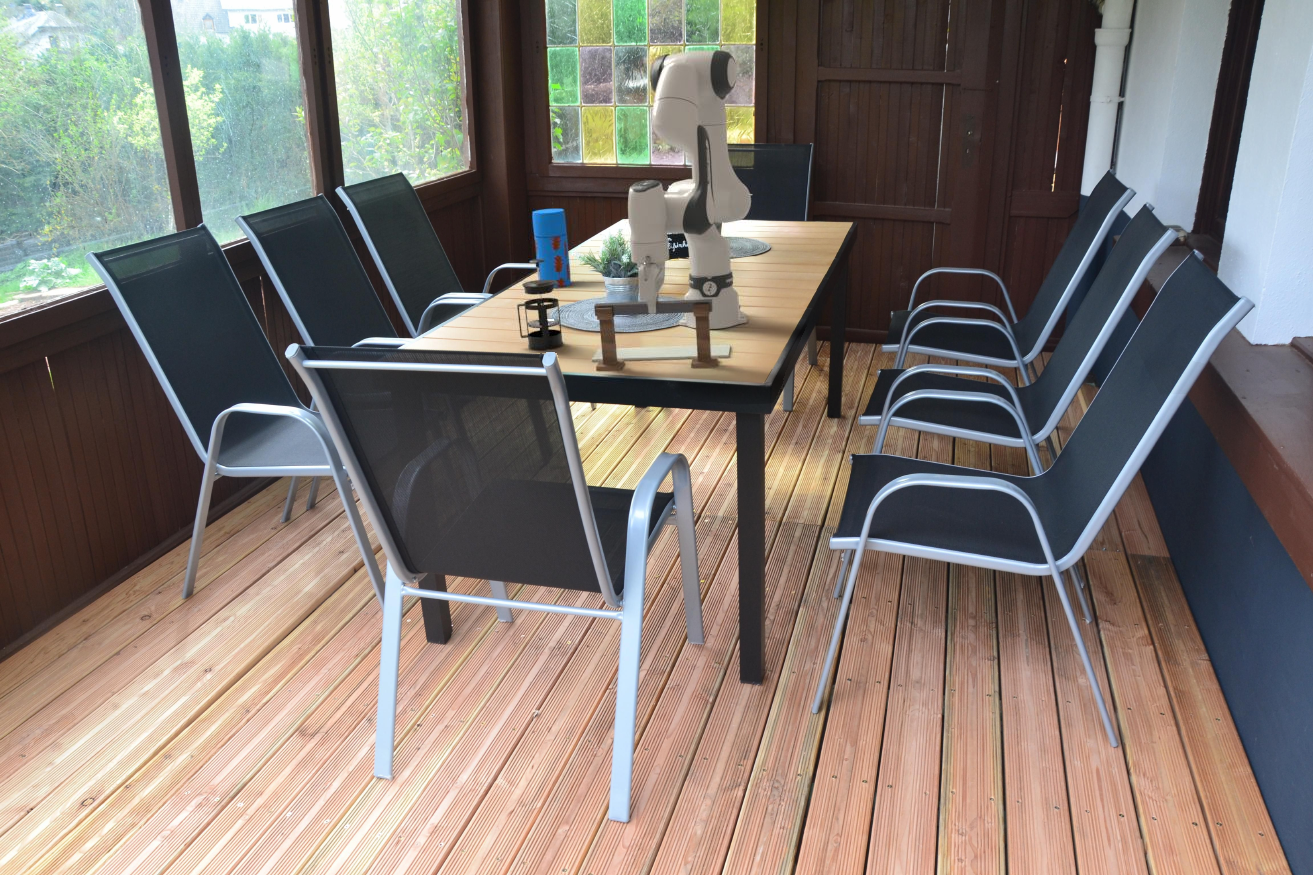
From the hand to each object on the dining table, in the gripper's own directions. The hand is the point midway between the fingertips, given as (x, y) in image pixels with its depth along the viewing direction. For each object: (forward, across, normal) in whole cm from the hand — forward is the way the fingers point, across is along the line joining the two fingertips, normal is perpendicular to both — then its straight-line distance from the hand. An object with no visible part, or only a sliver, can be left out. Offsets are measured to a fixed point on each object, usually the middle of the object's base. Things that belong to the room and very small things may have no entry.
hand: (653, 311), depth 242 cm
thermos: (+14, +103, +47) cm, 114 cm away
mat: (+13, +10, 0) cm, 17 cm away
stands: (+13, 0, 0) cm, 13 cm away
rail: (0, 0, 0) cm, 0 cm away
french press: (+14, +22, +33) cm, 42 cm away
